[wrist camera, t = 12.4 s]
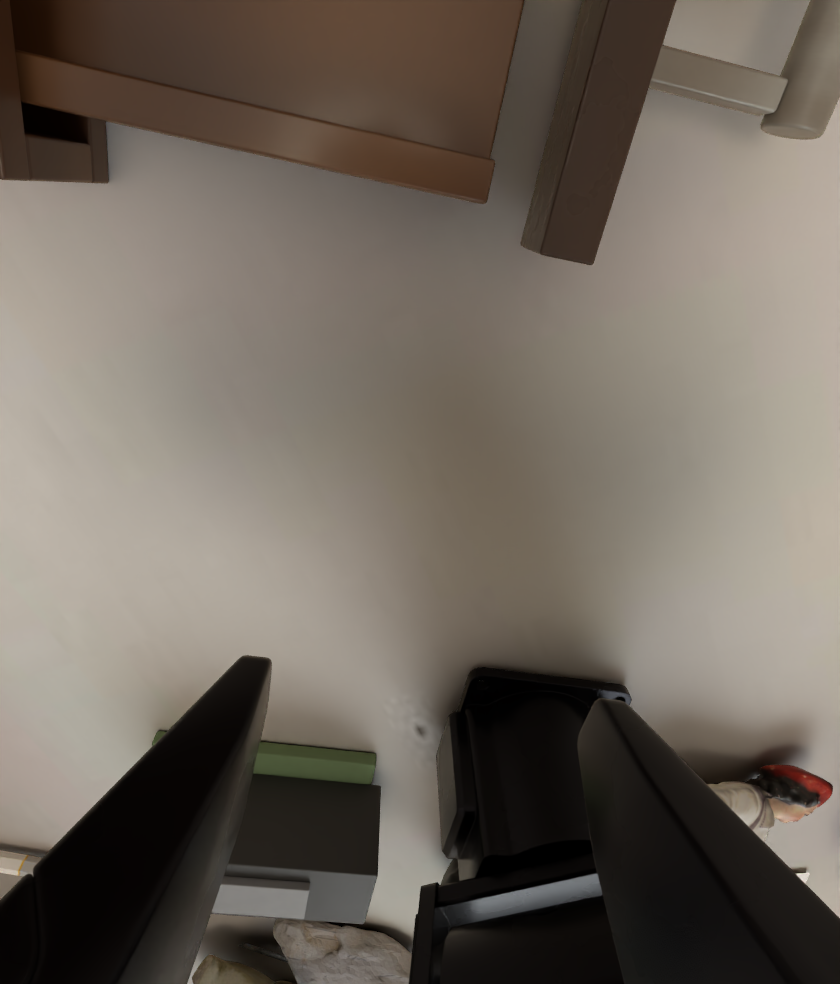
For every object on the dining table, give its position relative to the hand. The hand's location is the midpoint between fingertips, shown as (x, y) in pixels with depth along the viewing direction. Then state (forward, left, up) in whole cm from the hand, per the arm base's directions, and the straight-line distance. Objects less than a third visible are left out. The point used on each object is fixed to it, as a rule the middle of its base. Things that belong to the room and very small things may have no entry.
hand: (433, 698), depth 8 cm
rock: (-3, +28, -8) cm, 29 cm away
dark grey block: (+3, +17, -9) cm, 20 cm away
